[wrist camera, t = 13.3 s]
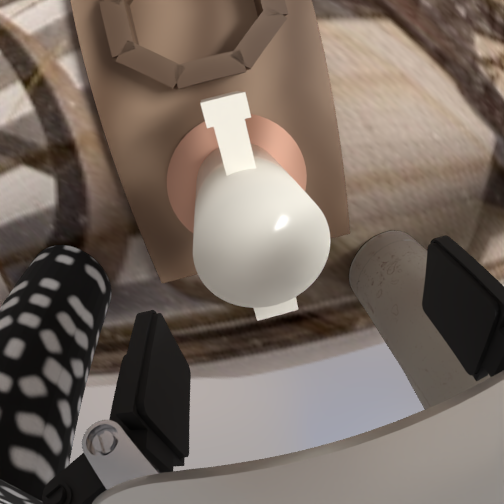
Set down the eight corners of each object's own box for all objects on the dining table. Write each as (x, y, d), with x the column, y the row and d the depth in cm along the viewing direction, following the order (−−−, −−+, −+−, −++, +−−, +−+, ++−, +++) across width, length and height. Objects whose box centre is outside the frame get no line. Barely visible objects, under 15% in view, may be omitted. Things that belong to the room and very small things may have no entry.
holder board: (283, -72, 14) (294, -90, 12) (344, 227, 27) (359, 244, 25) (71, -20, 14) (55, -31, 11) (163, 275, 27) (159, 298, 24)
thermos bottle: (397, 302, 33) (533, 521, 9) (336, 296, 31) (471, 574, 7) (429, 237, 29) (616, 453, 5) (366, 222, 27) (585, 511, 3)
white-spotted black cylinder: (106, 329, 29) (69, 527, 12) (32, 306, 27) (-41, 482, 9) (117, 259, 26) (50, 496, 8) (32, 234, 23) (-92, 425, 6)
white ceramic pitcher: (290, 226, 25) (337, 307, 16) (214, 246, 25) (222, 339, 16) (261, 84, 19) (305, 83, 11) (172, 106, 19) (146, 122, 11)
